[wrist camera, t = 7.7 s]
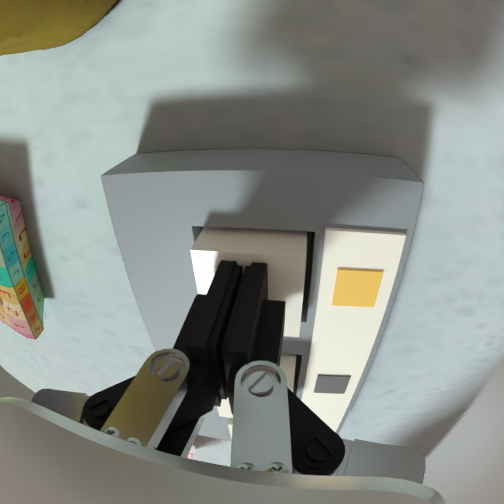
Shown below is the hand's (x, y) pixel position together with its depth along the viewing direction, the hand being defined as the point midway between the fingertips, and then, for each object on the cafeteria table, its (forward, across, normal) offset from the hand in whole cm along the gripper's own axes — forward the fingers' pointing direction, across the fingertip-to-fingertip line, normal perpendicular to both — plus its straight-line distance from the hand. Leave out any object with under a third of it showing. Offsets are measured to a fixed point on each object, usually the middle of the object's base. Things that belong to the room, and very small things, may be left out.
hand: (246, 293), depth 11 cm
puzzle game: (+5, +26, 0) cm, 27 cm away
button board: (+4, 0, +7) cm, 8 cm away
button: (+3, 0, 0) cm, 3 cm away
